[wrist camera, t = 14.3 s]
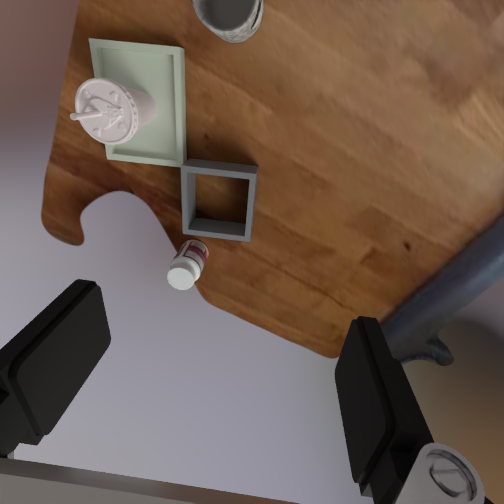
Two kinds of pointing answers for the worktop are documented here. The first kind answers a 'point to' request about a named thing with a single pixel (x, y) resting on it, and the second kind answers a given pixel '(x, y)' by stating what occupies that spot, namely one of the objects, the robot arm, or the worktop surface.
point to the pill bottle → (187, 264)
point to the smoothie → (112, 110)
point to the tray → (158, 87)
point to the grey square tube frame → (207, 225)
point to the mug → (230, 17)
